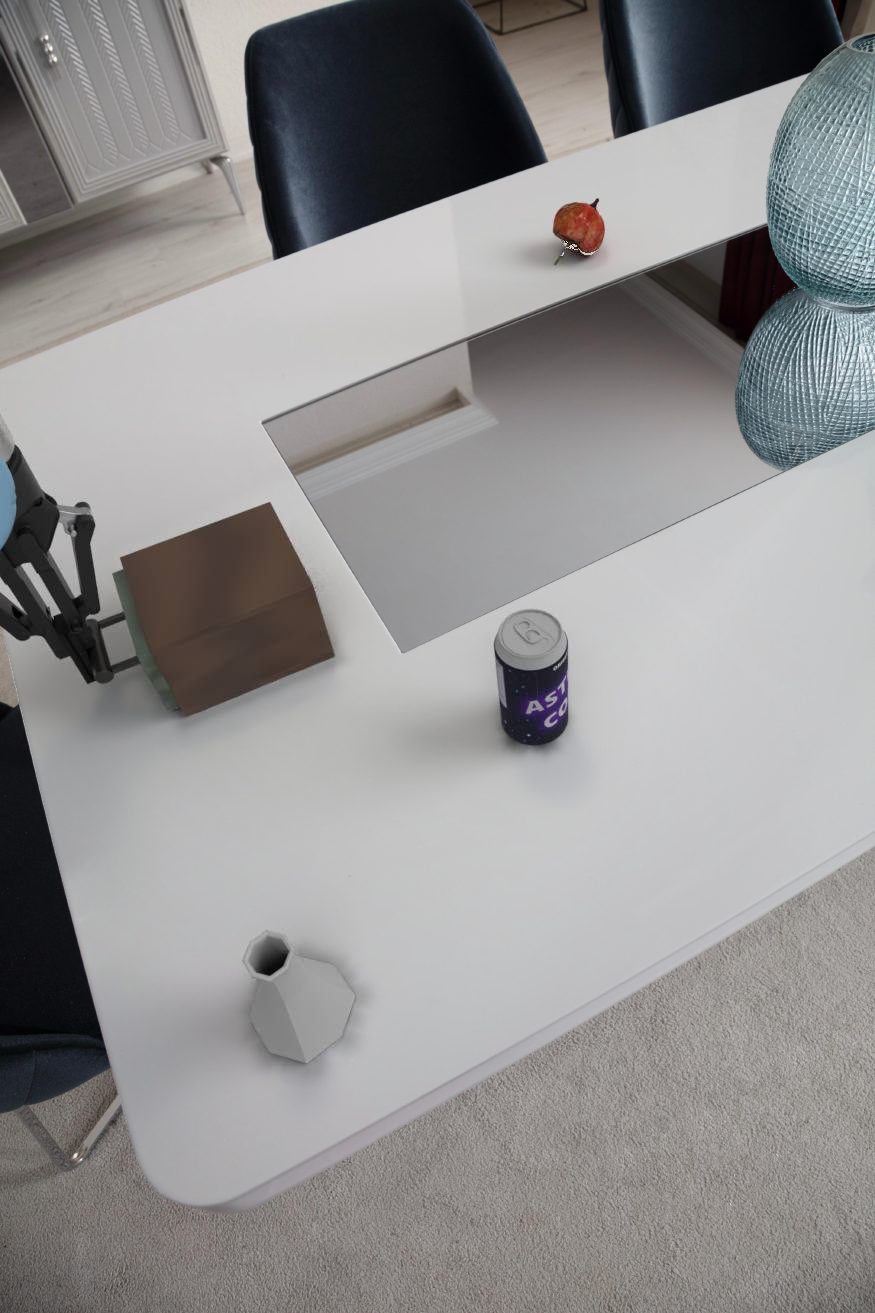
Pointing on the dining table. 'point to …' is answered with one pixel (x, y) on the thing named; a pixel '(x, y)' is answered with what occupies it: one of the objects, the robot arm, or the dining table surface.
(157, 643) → the cabinet
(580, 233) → the pomegranate
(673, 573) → the dining table surface
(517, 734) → the beverage can
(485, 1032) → the dining table surface
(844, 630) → the dining table surface
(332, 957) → the dining table surface
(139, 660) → the drawer
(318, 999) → the flask
